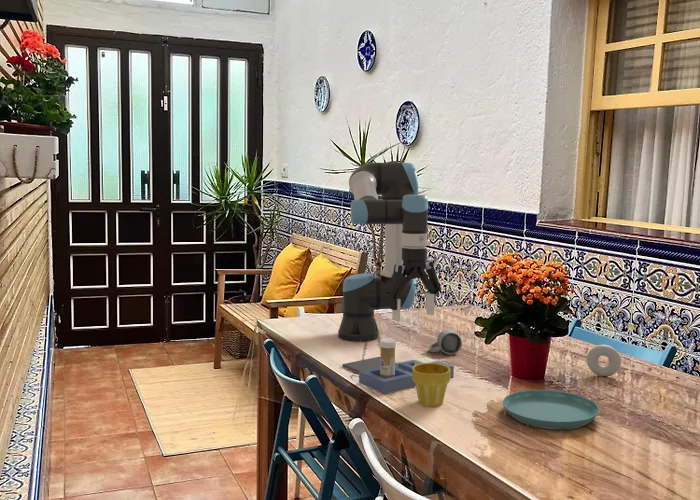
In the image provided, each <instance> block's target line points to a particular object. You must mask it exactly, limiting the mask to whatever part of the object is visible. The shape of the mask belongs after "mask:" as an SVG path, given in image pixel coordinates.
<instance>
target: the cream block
mask: <svg viewBox="0 0 700 500" xmlns="http://www.w3.org/2000/svg"><path fill="white" fill-rule="evenodd" d="M428 357H429V356H426V357H420V358H416V359H413V360H414V366H415V365H417V364H422V363H437V360H438V359H435V360H434V358H432V357H429V358H428ZM431 358H432V359H431Z"/></svg>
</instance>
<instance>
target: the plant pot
mask: <svg viewBox="0 0 700 500" xmlns="http://www.w3.org/2000/svg"><path fill="white" fill-rule="evenodd" d="M450 373H451V372H450V368H449V367H448V366H446V365H443V364H438V363H422V364H417V365H415V366H413V368H412V380H413V381H414V382H415V390H416V395H417V400H418V404H420V405H421V406H423V407H430V408H431V407H432V408H433V407H439V406H441V405H443V403H444V400H445V396H446V391H447V389H448V388H447V387H448V384H449V383H450V381H451V378H450Z"/></svg>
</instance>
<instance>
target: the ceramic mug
mask: <svg viewBox="0 0 700 500" xmlns="http://www.w3.org/2000/svg"><path fill="white" fill-rule="evenodd" d="M436 339H437V340H436V342H434V343H432V344H431V345H429V346H428V350H429V352H430V353H437V352H439V351H442V353H444V354H445V355H449V356H451V355H456V354H457V353H459V351H461V348H462V347H463V340H462V338H461V336H460V335H459V334H458V333H457V332H455V331H454V330H453V329H444V330H442V331H440V332H439V334H438V335H437V338H436Z"/></svg>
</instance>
